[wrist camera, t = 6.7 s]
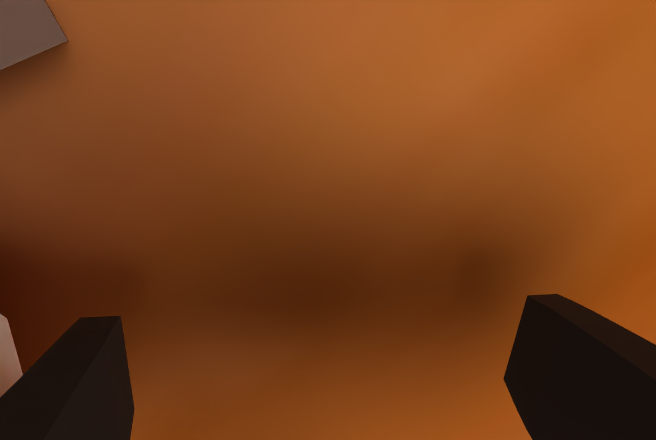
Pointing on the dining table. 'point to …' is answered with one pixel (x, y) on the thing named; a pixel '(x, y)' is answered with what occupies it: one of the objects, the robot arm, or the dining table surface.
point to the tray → (26, 30)
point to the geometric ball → (8, 358)
